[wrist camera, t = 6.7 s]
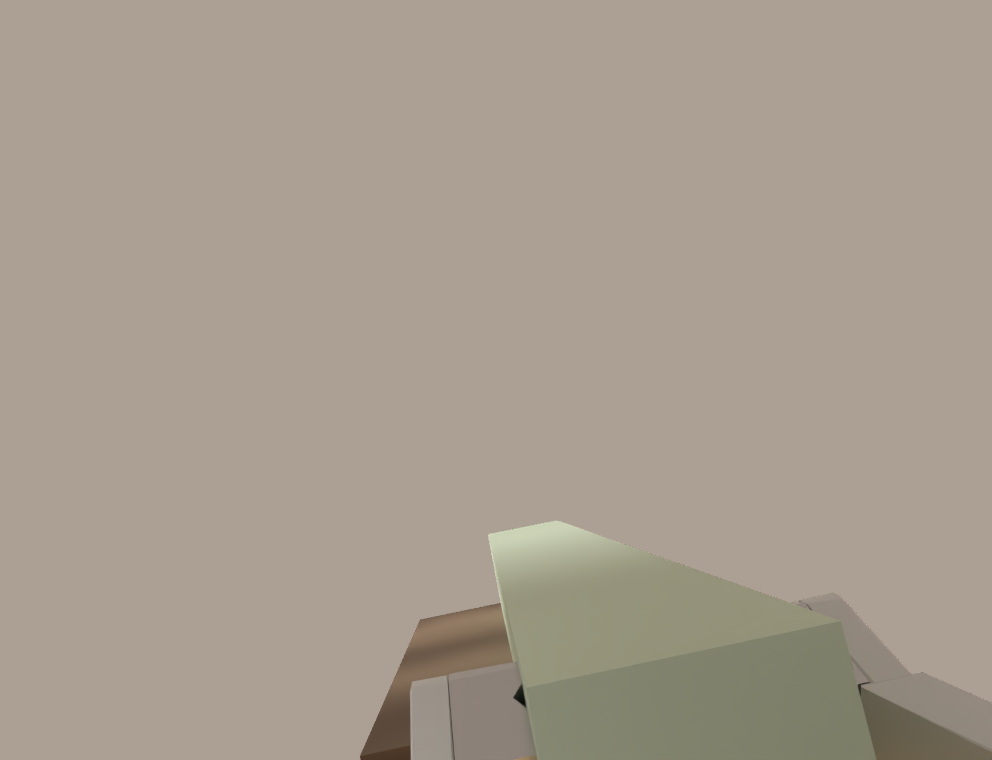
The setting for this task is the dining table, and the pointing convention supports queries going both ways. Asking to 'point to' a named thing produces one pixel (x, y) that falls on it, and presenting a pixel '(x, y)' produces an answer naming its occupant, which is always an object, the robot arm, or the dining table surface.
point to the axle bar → (668, 658)
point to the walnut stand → (436, 670)
